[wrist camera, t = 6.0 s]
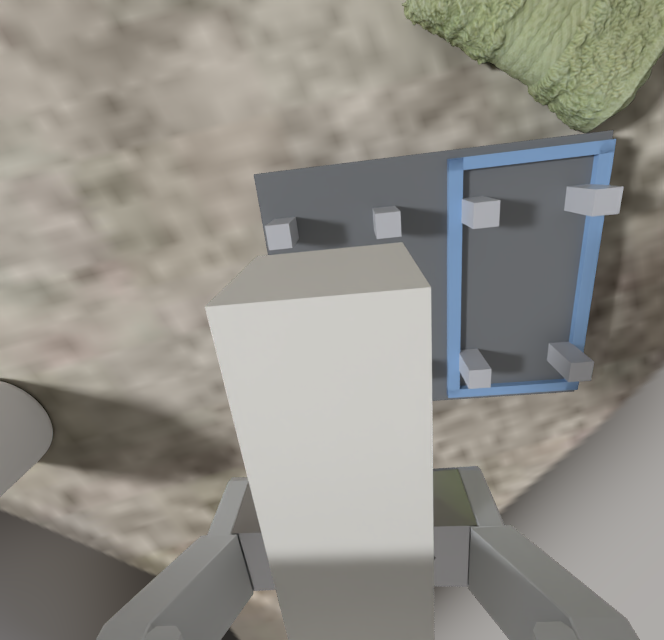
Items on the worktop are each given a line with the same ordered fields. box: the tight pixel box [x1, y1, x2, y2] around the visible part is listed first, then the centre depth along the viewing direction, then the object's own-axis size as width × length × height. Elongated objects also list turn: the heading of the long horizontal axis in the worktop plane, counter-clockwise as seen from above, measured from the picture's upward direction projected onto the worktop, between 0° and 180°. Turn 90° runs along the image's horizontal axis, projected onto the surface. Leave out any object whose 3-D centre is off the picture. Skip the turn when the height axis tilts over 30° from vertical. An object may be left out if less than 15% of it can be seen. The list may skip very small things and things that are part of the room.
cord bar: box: [205, 242, 434, 640], centre depth 9 cm, size 12×3×3 cm, turn 6°
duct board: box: [254, 130, 624, 401], centre depth 22 cm, size 15×18×4 cm
